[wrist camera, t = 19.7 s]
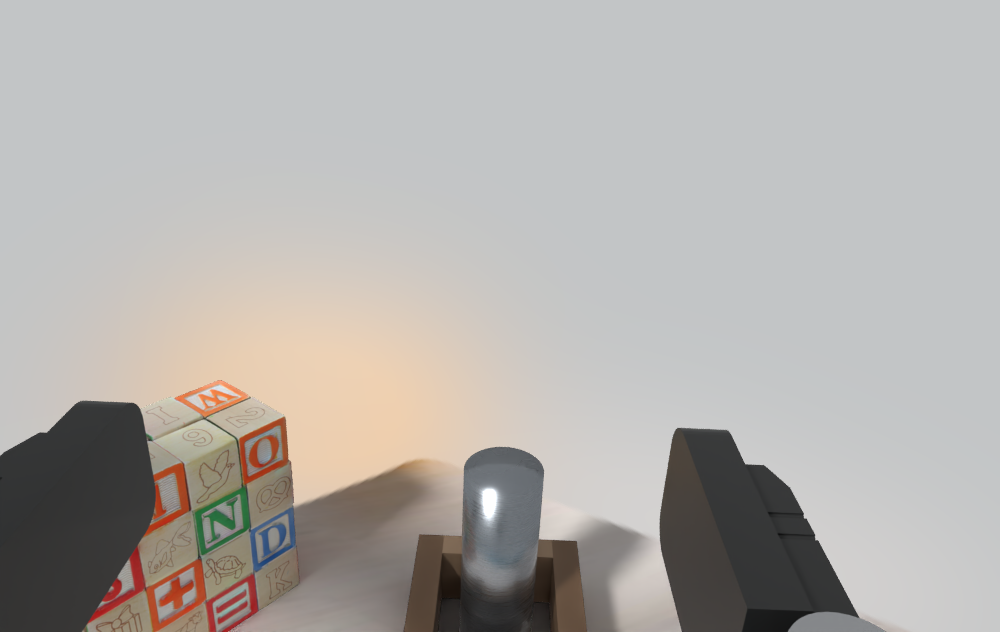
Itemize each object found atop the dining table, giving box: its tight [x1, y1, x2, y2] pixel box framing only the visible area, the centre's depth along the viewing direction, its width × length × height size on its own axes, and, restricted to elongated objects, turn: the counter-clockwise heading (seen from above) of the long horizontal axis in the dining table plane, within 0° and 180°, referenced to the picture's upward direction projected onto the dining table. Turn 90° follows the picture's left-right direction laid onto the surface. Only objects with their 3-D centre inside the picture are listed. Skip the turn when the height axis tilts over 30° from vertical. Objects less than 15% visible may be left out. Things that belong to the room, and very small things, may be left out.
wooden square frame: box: [404, 535, 587, 632], centre depth 43 cm, size 10×10×4 cm
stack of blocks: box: [82, 380, 299, 632], centre depth 39 cm, size 21×6×12 cm, turn 142°
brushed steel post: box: [459, 447, 544, 632], centre depth 41 cm, size 4×4×12 cm
